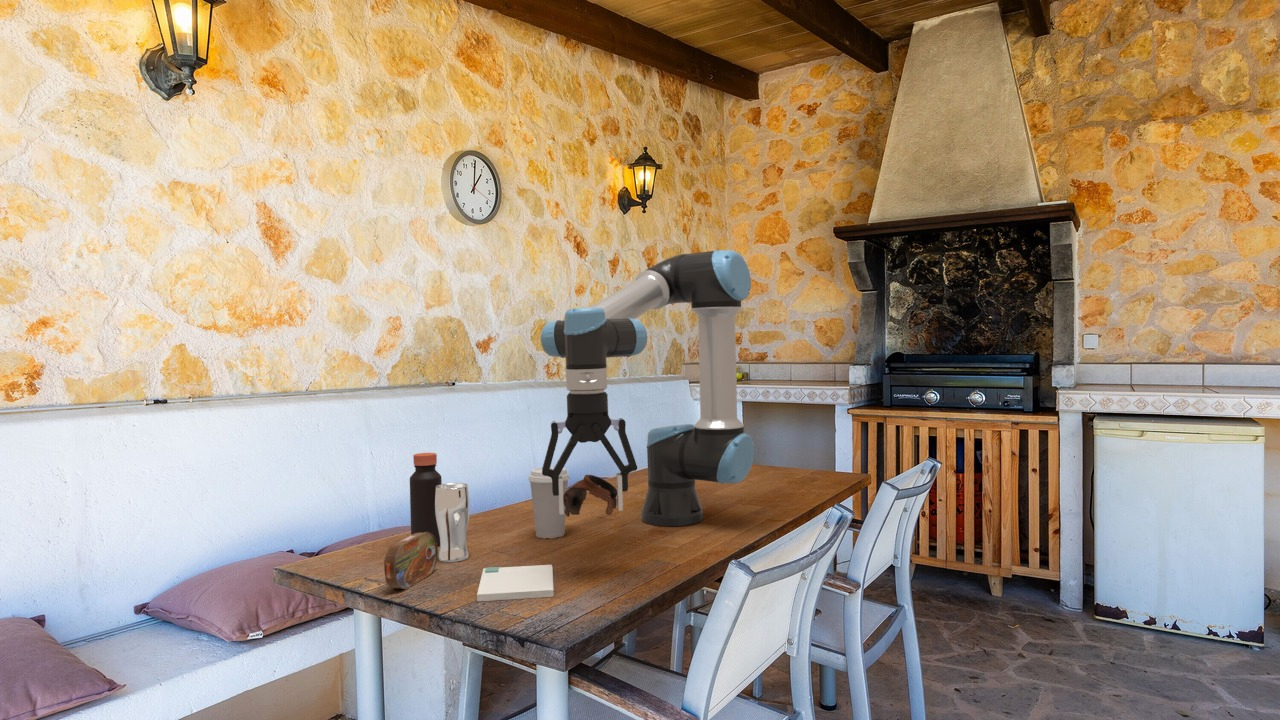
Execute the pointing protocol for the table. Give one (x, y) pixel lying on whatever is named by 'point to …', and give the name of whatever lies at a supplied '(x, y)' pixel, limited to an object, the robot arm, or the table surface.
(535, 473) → the coffee cup
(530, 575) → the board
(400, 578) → the tin
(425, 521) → the bottle
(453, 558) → the beer glass
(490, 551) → the table surface
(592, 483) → the broken pottery vessel
